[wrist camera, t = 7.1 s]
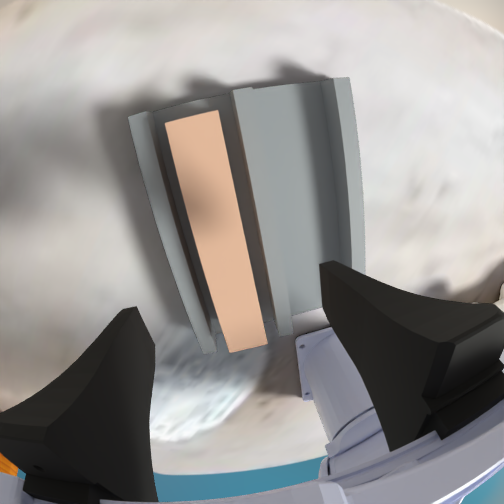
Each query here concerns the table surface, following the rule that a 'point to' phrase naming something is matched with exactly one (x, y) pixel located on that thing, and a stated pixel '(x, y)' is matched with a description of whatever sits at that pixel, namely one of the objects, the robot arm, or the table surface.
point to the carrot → (7, 466)
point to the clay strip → (217, 226)
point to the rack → (266, 194)
